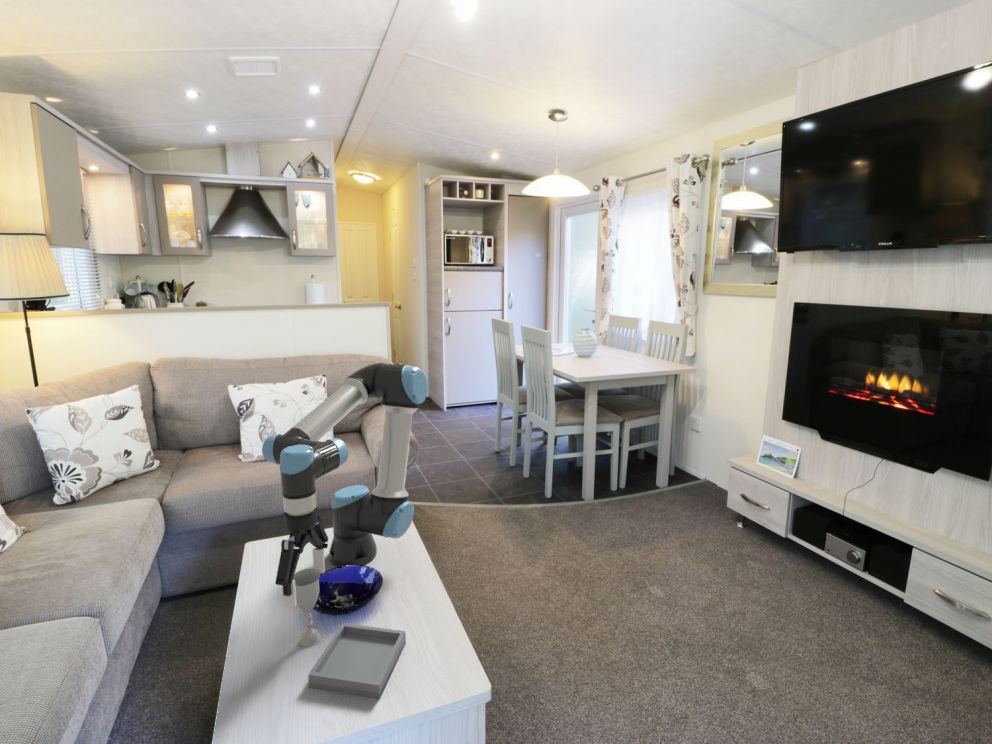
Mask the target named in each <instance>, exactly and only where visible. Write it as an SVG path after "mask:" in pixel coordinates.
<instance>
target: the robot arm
mask: <svg viewBox="0 0 992 744" xmlns="http://www.w3.org/2000/svg"><path fill="white" fill-rule="evenodd" d="M428 388H429V385H428V378H427V376H426V374H425V372H424V371H423V370H422V368H419V367H418V366H414V365H409V364H406V365H405V364H394V363H383V362H377V363H371V364H368V365H365V366H364V367H362V368H360V369H358V370H356V371H354V372H353V373H351V374H349V376H348V377H346V378H345V379H343V380H342V382H341V385H340V387H339V388H338V389H336V390H335V391H334V392H333V393H332V394H330V396H329V397H327V398H326V399H325V400H323V401H322V402H321V403H320V404H319V405H317V406H316V407H315V408H313V409H312V410H311V411H310V412H309V413H308V414H306V415H305V416H304V417H303V418H301V420H299V422H297V423H296V424H295V425H293V426H292V427H291V428H290V429H289V430H287V431H286V432H285V433H284V434H280V433H278V434H277V433H276V434H271V435H269V436H268V437H266V438H265V440H264V441H263V443H262V447H261V452H262V453H261V454H262V457H263V458H264V459H265V460H266V461H267V462H269V463H273V464H276V465H279V470H280V481H281V491H282V505H283V518H284V519H283V520H284V522H283V523H284V527H285V528H286V529H287V530H288V532H289V537H288V539H282V541H281V542H280V544H281V545H280V546H281V548H280V550H281V551H280V556H279V561H278V566H277V571H276V577H275V585H276V586H281V587H282V595H283V603H284V606H287V607H293V608H296V607H297V606H298V604H297V601H296V587H295V580H293V577H294V574H296V571H297V566H298V563H299V560H300V556H301V554H302V553H303V552H304V549H305V547H306V546H307V544H311V545H312V546H313V547H314V548H312V560H313V568H314V569H317V570H319V571H320V574H325V572H326V566H325V549H327V548H328V547H329V544H328V542H329V537H328V534H327V533H326V530H325V528H324V526H323V523H322V519H321V515H318V507H317V506H318V502H317V501H318V499H317V486H316V484H317V483H316V480H317V479H319V478H321V477H322V476H325V475H326V474H328V473H331V472H332V471H334V470H337V469H338V468H339V467H341V466H342V465H344V464H345V463H346V462H347V461H348V459H349V454H350V453H349V447H348V446H347V444H346V443H345V442H344V440H342V439H341V438H338V437H337V438H336V437H334V438H329V439H326V440H325V441H321V439H323V437H324V436H325V435H326V434H328V433H329V432H330V431H331V430H332V429H333V428H334V427H335V426H337V425H338V423H340V422H341V421H342V420H343V419H344V418H345V417H346V416H347V415H348V414H350V412H352V411H353V410H354V409H355V408H357V406H358V405H363V404H365V403H366V402H367V401H369V400H374V399H375V400H376V399H378V400H381V406H382V408H383V409H384V410H385V411H384V412H385V415H384V422H383V423H384V424H383V431H382V440H381V448H380V449H381V450H380V459H379V467H378V474H377V484H376V487H375V488H374V489H373V490H372V491H371V494H370V490H369V488H368V486H366V485H363V484H357V485H356V484H355V485H348V486H346V487H343V488H341V489H339V490H337V491H335V492H334V494H333V495H332V496H331V506H330V507H331V517H332V530H333V538H332V540H331V544H330V548H329V551H328V552H329V553H328V556H329V557H328V558H329V562H330V563H331V564H332V565H334V566H336V567H338V566H346V565H361V566H364V565H366V564H369V563H370V562H371V561H373V559H374V558H375V557H376V556H377V552H378V550H377V542H376V541H375V538H374V537H373V536H374V535H376V536H380V537H384V538H386V539H387V538H389V539H399V538H401V537H403V536H404V535H405V534H406V533H407V531H408V529H410V526H411V524H412V521H413V520H414V516H415V515H414V514H415V507H414V504H413V502H411V501H409V492H408V491H407V490H406V488H405V486H406V478H407V469H408V468H407V467H408V462H409V461H408V459H409V452H410V451H409V450H410V442H411V435H412V434H411V433H412V426H413V425H412V423H413V418H414V417H413V416H414V415H413V414H414V413H416V412H417V411H418V410H419V405H420V404H422V403H424V402H425V401H426V397H427V396H428V391H429V389H428Z"/></svg>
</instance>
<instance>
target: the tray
mask: <svg viewBox="0 0 992 744" xmlns="http://www.w3.org/2000/svg"><path fill="white" fill-rule="evenodd" d="M406 635H407V634H406V631H405V630H399V629H398V630H397V629H389V628H384V627H383V628H382V627H376V626H368V625H367V626H366V625H360V624H352V623H346V622H345V623H344V622H342V623H341V625H340V626H339V628H338V630H337V631H336V632H335V634H334V636H333V637H332V638H331V640H330V642H328V645H326V647H325V649H324V650H323V652H322V654H321V655H320V656H319V658H318V659H317V661H316V662H315V664H314V665H313V667H312V668H311V669H310V671H309V673H308V674H307V677H308V679H307V680H308V688H310V689H315V690H322V691H329V692H334V693H341V694H346V695H347V694H349V695H354V696H359V697H367V698H373V699H379V700H380V699H381V698H382V695H383V694H384V690H386V687H387V685H388V683H389V680H390V678H391V676H392V674H393V673H394V669H395V668H396V665H397V662H398V661H399V659H400V657H401V654H402V652H403V650H404V649H405V646H406V643H407V642H406V640H407V639H406V638H407V637H406Z"/></svg>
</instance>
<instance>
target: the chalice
mask: <svg viewBox="0 0 992 744" xmlns="http://www.w3.org/2000/svg"><path fill="white" fill-rule="evenodd" d="M320 576H321V573H320V571H319V570H317V569H314V567H313V568H311V567H310V568H305V569H302V570H299V571H297V572H295V574H294V577H293V580H295V587H296V601H297V606H298V607H299V609H301V610H302V611H303V612H305V613H306V615H305V619H306V620H307V621H306V622H305V625H306V626H307V629H305V630H304V631H303V633H302V636H301V638H300V641H299V643H300V645H301V646H302V647H306V648H308V647H313V646H315V645H317V644H318V643H320V641H321V639H322V636H321V634H320V633H319V631H318V629H316V628H315V627H312V625H313V624H314V621H313V620H312V617H313V614H312V613H311V611H313V609H314V608H315V606H316V603H317V601H318V598H319V595H320V578H321V577H320Z"/></svg>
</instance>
